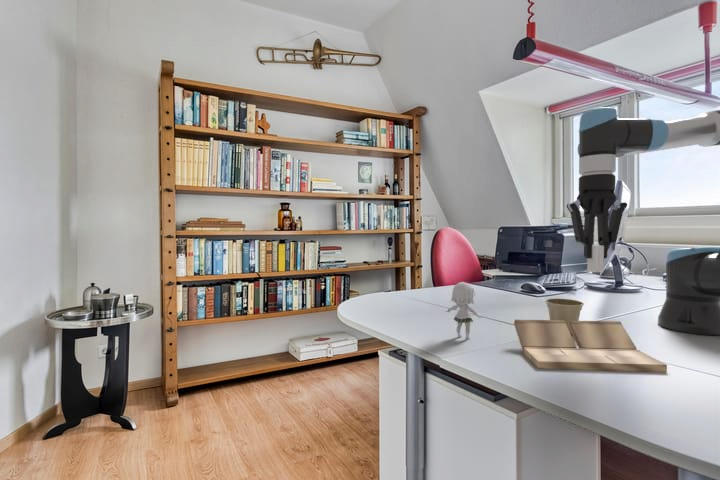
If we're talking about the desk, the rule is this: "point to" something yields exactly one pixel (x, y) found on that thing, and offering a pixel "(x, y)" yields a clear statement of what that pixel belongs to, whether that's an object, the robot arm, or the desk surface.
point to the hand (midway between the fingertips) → (595, 271)
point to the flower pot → (564, 310)
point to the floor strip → (593, 359)
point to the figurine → (463, 306)
